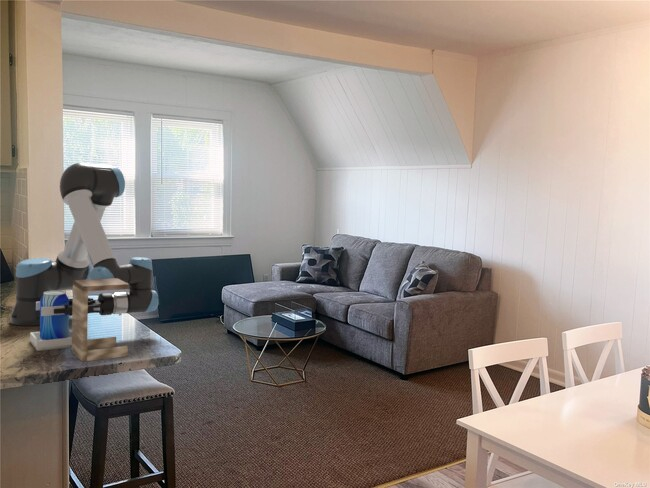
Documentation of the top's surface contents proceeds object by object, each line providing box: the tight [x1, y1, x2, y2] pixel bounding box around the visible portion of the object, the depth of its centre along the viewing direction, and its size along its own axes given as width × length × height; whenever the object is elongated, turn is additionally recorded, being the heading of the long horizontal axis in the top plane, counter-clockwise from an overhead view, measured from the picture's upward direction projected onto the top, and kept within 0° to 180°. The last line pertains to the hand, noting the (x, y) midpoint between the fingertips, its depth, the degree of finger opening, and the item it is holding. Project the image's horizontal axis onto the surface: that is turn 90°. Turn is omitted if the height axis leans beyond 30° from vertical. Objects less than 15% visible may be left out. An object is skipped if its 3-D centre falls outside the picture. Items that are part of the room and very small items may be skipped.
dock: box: [71, 278, 129, 362], centre depth 173 cm, size 14×13×22 cm
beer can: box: [39, 290, 70, 340], centre depth 181 cm, size 8×8×16 cm
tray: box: [29, 328, 72, 351], centre depth 181 cm, size 12×12×3 cm
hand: (38, 308), depth 177 cm, fingers open, 8 cm apart
